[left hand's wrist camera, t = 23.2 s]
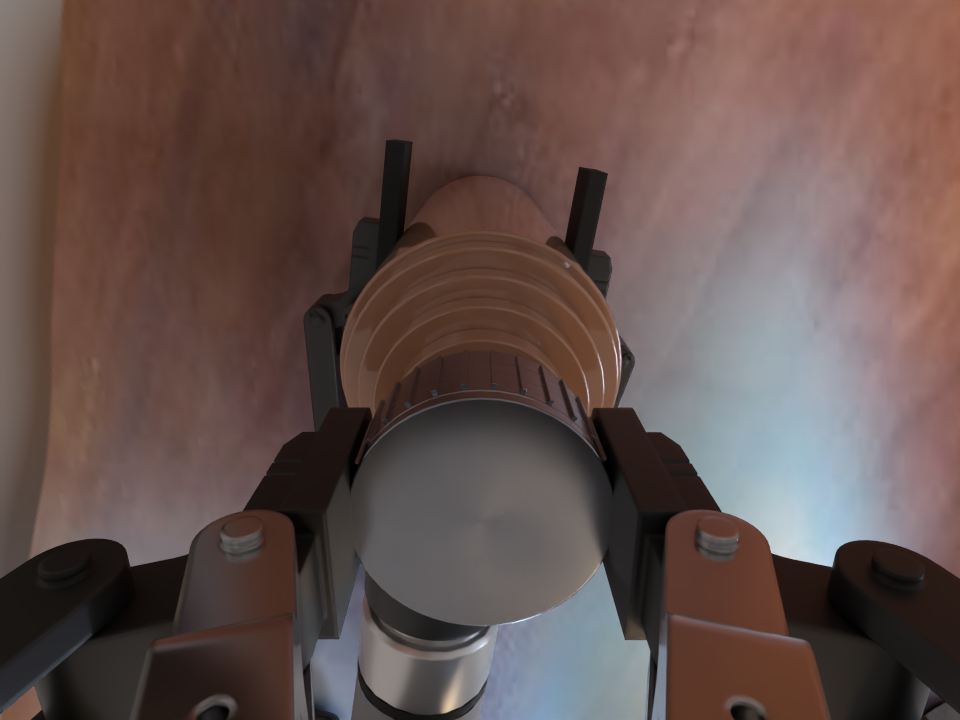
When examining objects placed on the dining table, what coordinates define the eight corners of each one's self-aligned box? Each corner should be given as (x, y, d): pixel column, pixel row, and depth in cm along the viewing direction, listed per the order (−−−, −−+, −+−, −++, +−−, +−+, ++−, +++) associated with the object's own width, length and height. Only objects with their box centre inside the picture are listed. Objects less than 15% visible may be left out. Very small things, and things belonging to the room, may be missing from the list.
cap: (548, 309, 11) (564, 350, 9) (626, 507, 13) (655, 581, 10) (325, 398, 12) (292, 455, 10) (424, 577, 13) (414, 659, 11)
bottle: (403, 301, 34) (256, 639, 12) (421, 164, 32) (275, 254, 9) (534, 322, 35) (636, 687, 12) (561, 188, 32) (756, 332, 10)
